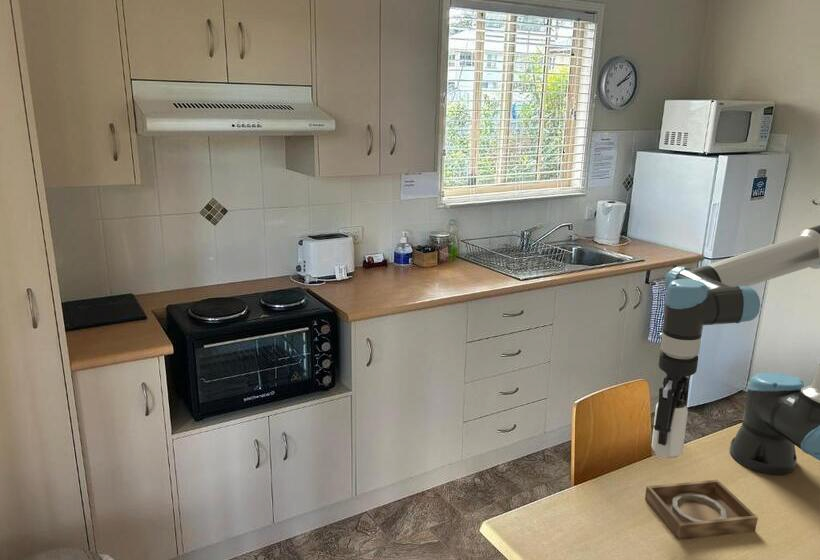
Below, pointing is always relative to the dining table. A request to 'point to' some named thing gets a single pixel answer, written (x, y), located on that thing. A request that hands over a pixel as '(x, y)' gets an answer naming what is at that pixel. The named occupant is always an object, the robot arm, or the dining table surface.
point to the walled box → (700, 509)
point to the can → (675, 429)
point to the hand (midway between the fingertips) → (667, 448)
